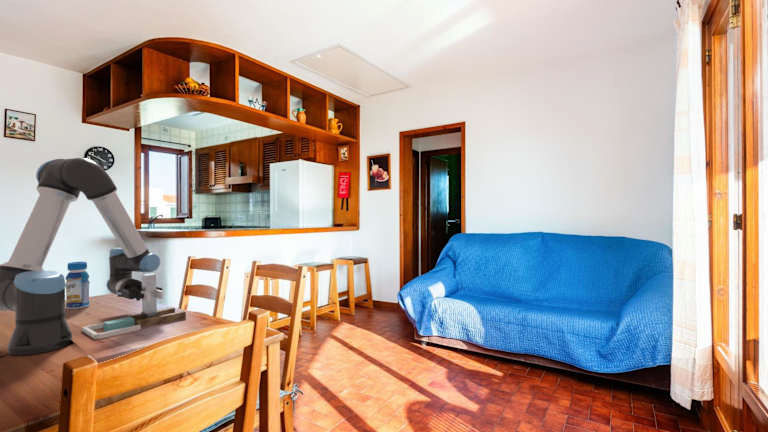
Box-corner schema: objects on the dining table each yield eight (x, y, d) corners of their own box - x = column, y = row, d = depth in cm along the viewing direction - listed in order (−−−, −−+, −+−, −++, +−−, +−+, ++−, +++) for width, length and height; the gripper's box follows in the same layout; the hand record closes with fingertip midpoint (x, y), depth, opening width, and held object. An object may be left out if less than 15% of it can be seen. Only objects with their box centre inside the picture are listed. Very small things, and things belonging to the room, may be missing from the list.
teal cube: (107, 335, 128) (107, 324, 128) (103, 333, 130) (103, 322, 130) (121, 332, 131) (121, 321, 131) (117, 330, 133) (117, 319, 133)
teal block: (121, 332, 131) (121, 321, 131) (117, 330, 133) (117, 319, 133) (134, 329, 134) (134, 318, 134) (130, 327, 137) (129, 316, 136)
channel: (139, 332, 132) (138, 321, 132) (127, 327, 139) (126, 316, 139) (185, 322, 145) (185, 311, 145) (172, 317, 152) (172, 307, 152)
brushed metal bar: (147, 322, 137) (146, 276, 137) (141, 320, 140) (140, 274, 140) (158, 320, 140) (157, 274, 139) (151, 317, 143) (150, 273, 143)
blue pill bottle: (93, 306, 170) (92, 262, 170) (70, 310, 163) (69, 264, 163) (85, 304, 174) (84, 260, 174) (62, 308, 167) (61, 262, 167)
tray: (95, 344, 121) (95, 334, 121) (81, 335, 130) (81, 327, 129) (140, 333, 131) (140, 325, 131) (125, 326, 140) (125, 318, 140)
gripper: (153, 293, 157) (179, 301, 143) (105, 301, 144) (129, 311, 130) (152, 276, 157) (179, 282, 143) (105, 282, 144) (129, 289, 130)
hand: (155, 296), depth 137 cm, fingers closed on brushed metal bar, 3 cm apart
